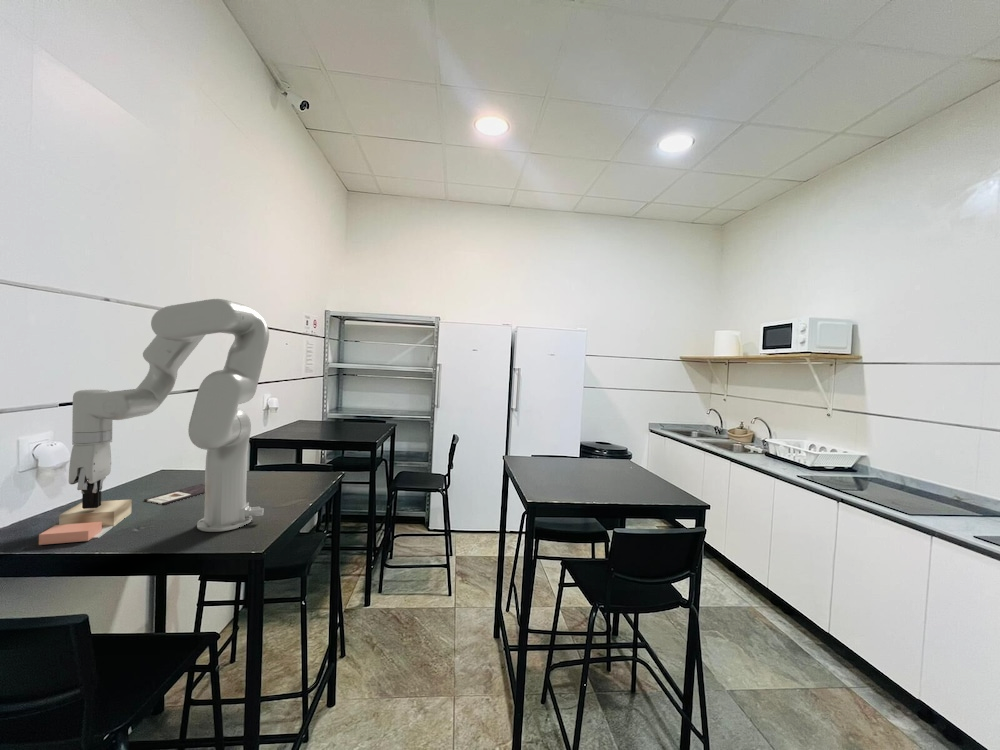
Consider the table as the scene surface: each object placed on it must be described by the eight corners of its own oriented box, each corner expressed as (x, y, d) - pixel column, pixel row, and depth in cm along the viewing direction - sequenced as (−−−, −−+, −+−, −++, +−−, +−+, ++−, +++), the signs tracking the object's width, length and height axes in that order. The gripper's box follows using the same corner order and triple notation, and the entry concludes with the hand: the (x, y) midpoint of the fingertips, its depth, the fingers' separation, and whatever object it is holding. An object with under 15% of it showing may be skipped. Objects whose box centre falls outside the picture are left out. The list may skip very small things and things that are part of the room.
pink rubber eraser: (88, 530, 102) (88, 540, 102) (101, 521, 107) (101, 531, 107) (38, 534, 99) (38, 544, 99) (55, 525, 104) (55, 534, 104)
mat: (112, 527, 111) (112, 526, 111) (98, 538, 104) (98, 536, 104) (57, 531, 107) (57, 530, 107) (39, 543, 100) (39, 541, 100)
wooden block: (131, 513, 120) (131, 499, 120) (113, 526, 111) (114, 511, 111) (81, 516, 117) (81, 502, 116) (59, 530, 107) (59, 515, 107)
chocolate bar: (220, 487, 145) (165, 503, 128) (220, 490, 145) (165, 506, 128) (200, 484, 148) (144, 499, 131) (200, 486, 148) (144, 502, 131)
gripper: (90, 432, 116) (89, 499, 117) (55, 443, 102) (55, 518, 103) (124, 432, 119) (123, 497, 119) (95, 442, 105) (94, 516, 105)
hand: (91, 507), depth 111 cm, fingers closed
